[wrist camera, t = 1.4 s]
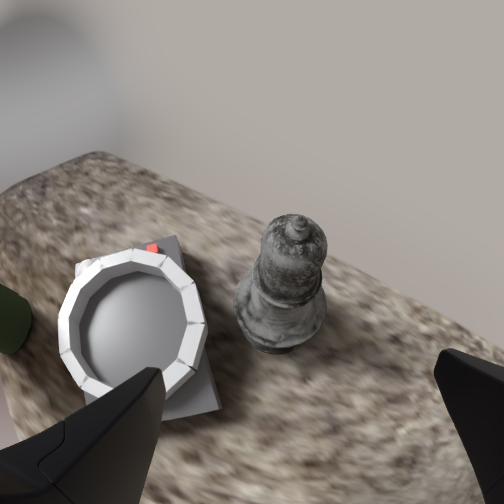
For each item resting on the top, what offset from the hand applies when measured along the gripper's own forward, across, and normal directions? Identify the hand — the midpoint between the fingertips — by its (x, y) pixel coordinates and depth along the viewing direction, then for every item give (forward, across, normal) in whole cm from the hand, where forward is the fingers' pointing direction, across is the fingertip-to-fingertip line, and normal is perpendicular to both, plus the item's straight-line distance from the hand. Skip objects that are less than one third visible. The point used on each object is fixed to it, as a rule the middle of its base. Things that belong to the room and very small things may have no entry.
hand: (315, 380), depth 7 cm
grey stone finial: (+12, 0, +4) cm, 13 cm away
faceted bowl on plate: (+11, +10, +6) cm, 16 cm away
